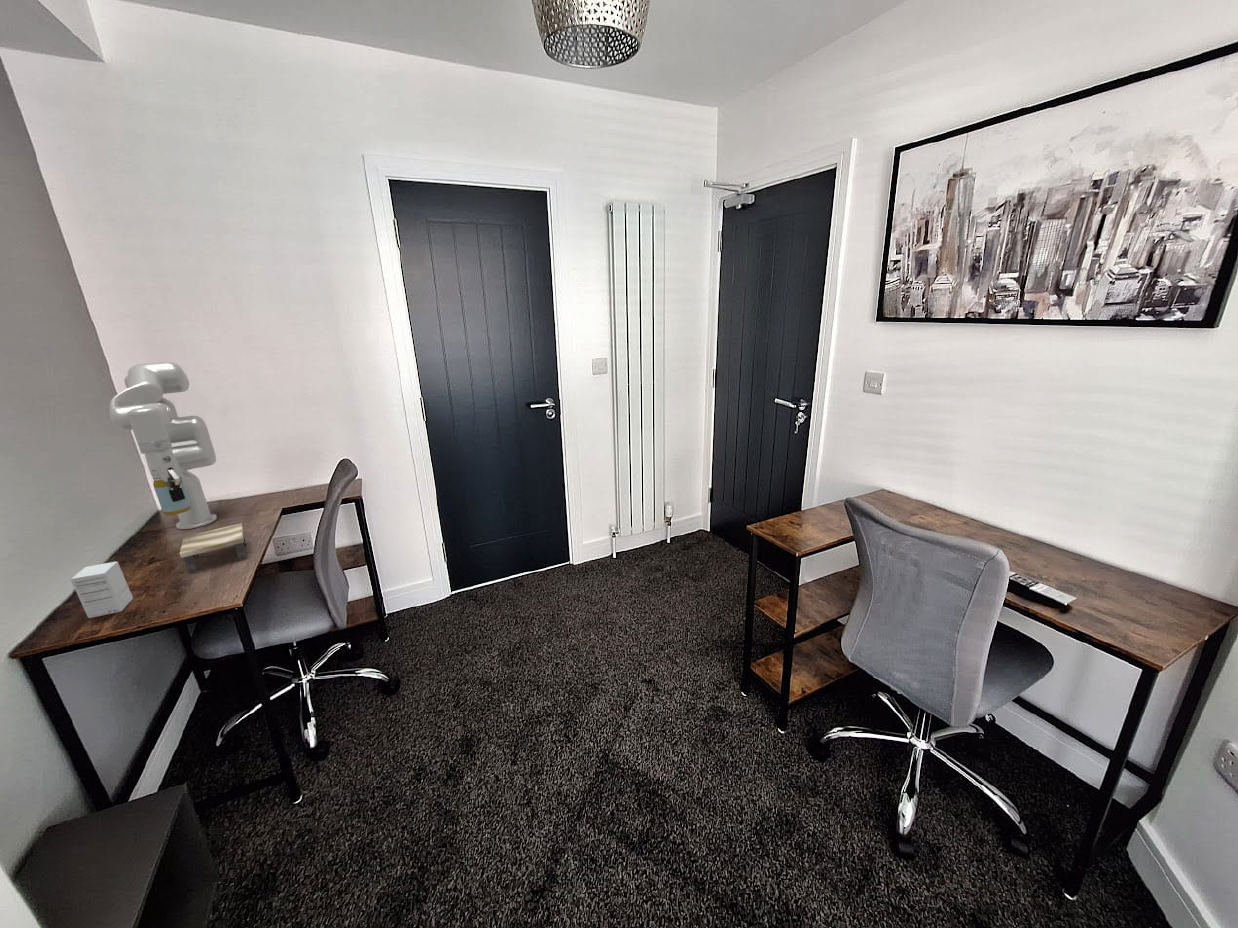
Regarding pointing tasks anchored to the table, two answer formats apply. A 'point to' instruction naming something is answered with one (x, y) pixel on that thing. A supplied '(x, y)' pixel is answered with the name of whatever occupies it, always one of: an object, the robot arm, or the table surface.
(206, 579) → the table surface
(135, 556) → the table surface
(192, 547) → the footstool
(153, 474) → the bottle
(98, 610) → the supplement box
